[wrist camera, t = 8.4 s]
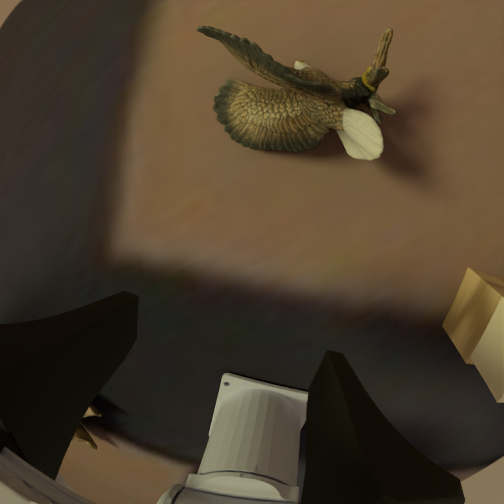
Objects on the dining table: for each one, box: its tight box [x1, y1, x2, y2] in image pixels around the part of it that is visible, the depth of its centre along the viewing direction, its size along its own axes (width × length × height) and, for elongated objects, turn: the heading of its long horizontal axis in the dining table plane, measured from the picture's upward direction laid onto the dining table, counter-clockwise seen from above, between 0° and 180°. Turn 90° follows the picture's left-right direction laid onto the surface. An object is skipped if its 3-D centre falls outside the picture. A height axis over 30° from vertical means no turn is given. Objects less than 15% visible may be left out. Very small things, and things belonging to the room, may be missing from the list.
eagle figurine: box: [196, 26, 397, 161], centre depth 15 cm, size 8×8×10 cm
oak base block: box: [442, 267, 504, 365], centre depth 17 cm, size 5×5×5 cm
